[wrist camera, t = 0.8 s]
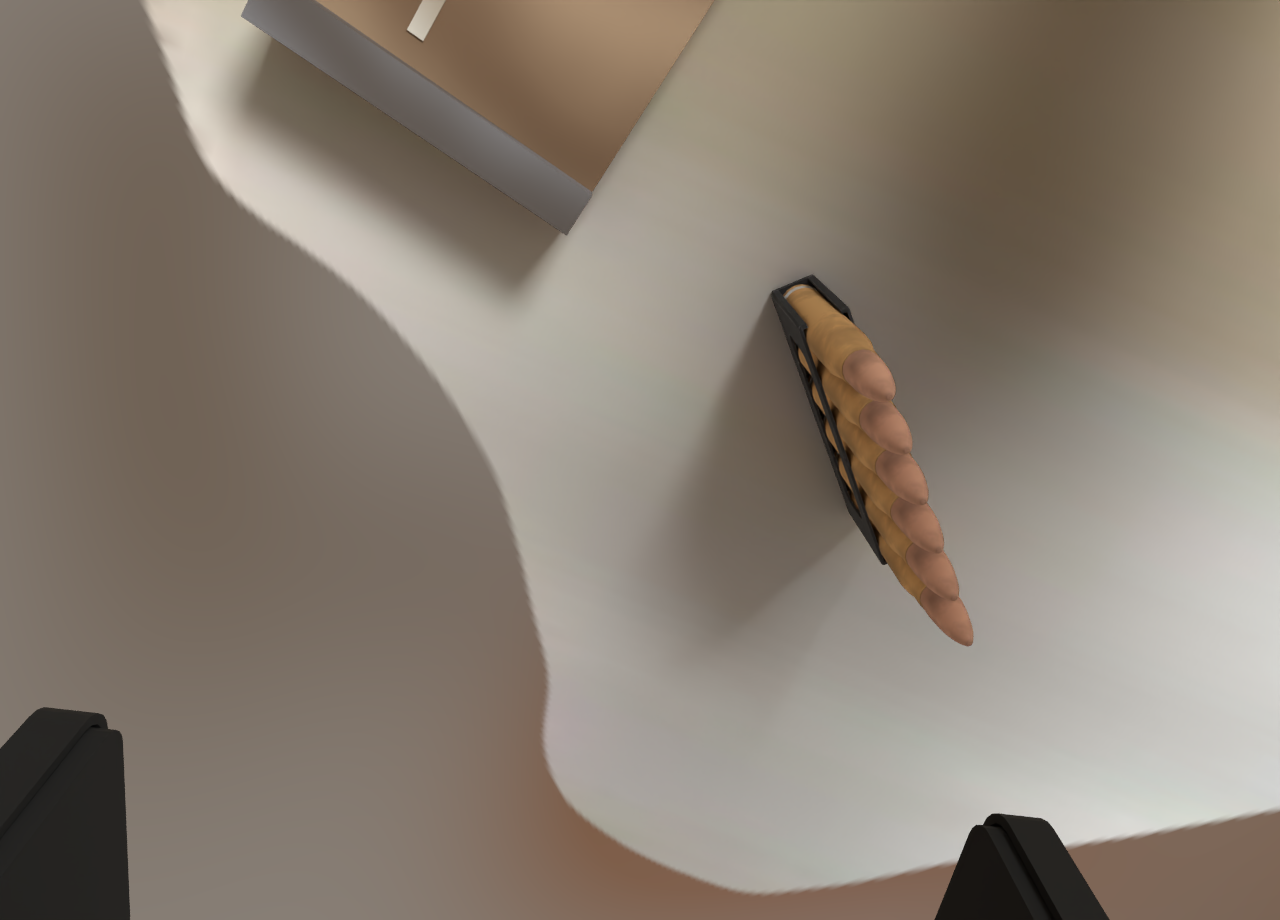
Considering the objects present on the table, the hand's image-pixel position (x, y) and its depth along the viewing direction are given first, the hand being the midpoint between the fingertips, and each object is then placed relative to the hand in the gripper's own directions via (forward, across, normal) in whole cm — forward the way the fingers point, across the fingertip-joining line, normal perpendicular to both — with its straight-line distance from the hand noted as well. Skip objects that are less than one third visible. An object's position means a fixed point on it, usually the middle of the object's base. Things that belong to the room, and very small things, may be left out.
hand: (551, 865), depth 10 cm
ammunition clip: (+28, -11, +2) cm, 30 cm away
